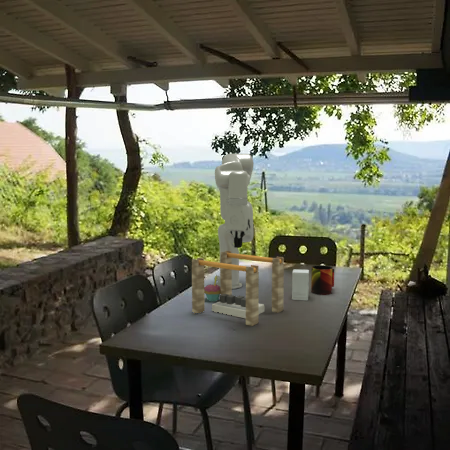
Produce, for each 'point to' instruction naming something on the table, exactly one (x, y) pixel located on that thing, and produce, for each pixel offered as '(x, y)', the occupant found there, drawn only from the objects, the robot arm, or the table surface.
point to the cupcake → (212, 291)
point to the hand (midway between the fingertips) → (238, 247)
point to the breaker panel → (233, 306)
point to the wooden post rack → (251, 286)
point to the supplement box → (300, 284)
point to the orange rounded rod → (223, 265)
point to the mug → (322, 280)
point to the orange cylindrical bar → (250, 257)
